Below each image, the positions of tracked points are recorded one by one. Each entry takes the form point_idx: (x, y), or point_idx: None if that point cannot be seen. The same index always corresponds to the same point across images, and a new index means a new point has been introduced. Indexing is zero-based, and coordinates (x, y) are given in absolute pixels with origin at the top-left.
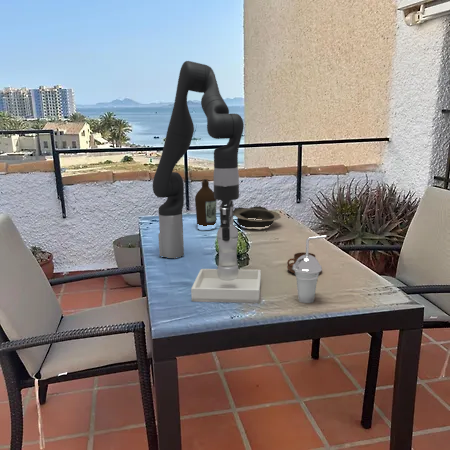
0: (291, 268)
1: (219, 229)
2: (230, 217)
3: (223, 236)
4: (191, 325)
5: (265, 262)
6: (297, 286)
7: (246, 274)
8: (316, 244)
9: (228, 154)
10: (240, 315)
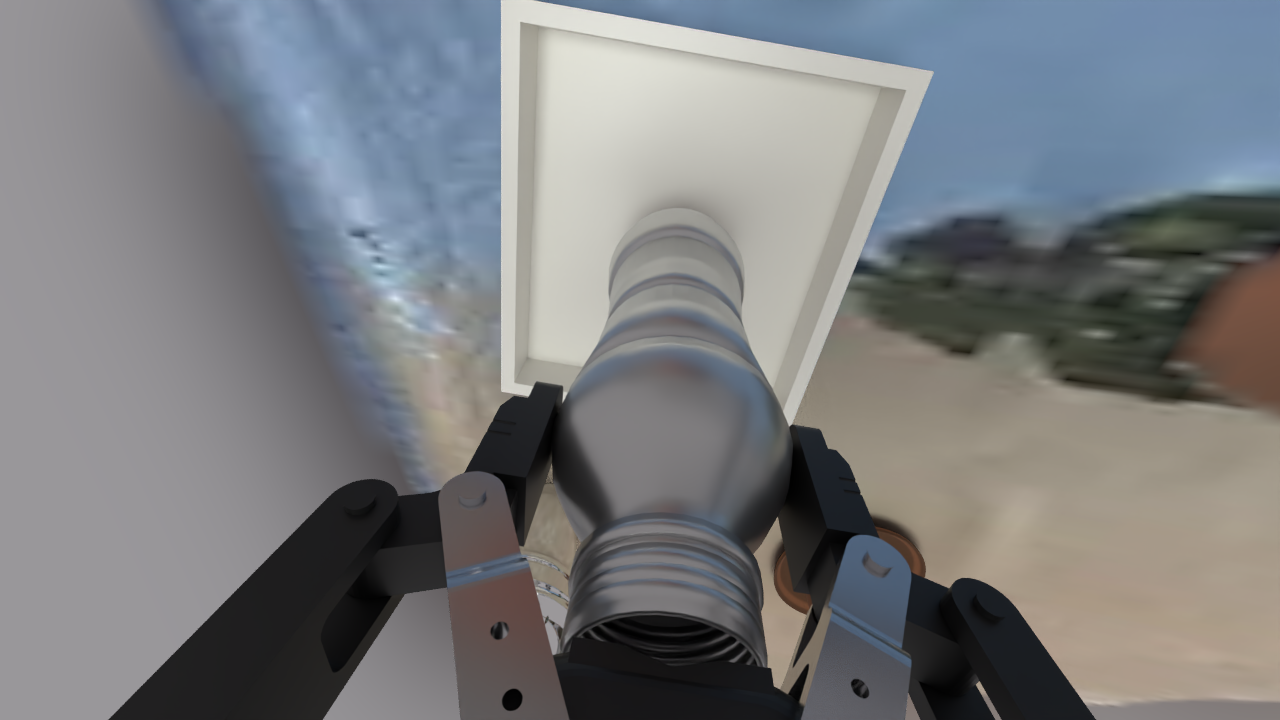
0: (883, 535)
1: (636, 422)
2: (460, 715)
3: (495, 416)
4: (223, 18)
5: (1045, 461)
6: (533, 522)
7: (791, 362)
8: (1177, 670)
9: None
10: (388, 271)
